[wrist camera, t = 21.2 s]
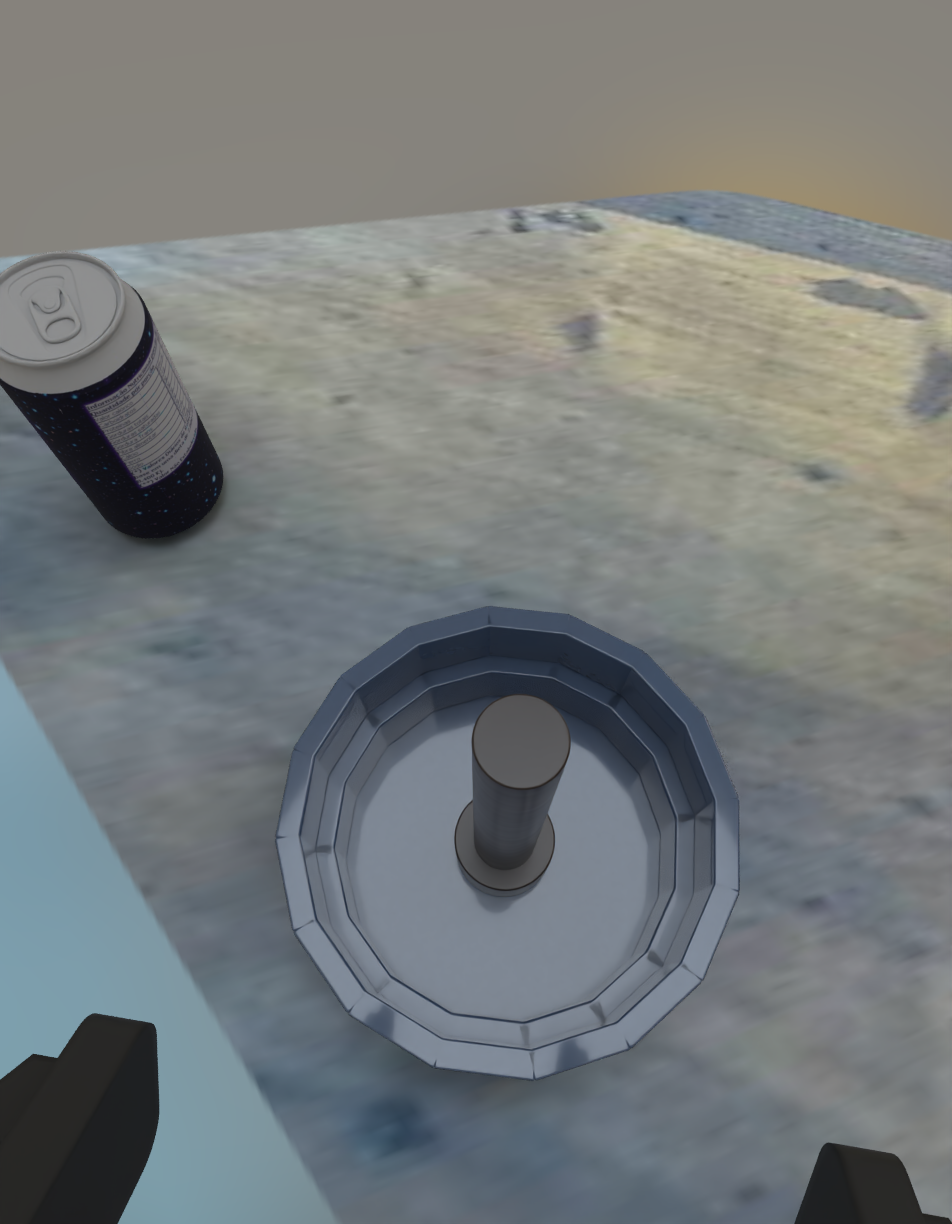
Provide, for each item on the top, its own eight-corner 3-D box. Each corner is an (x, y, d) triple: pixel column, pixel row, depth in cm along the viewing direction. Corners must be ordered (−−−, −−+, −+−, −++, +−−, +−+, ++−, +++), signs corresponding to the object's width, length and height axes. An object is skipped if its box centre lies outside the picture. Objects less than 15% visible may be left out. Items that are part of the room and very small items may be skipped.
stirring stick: (555, 806, 34) (609, 675, 20) (545, 903, 32) (594, 834, 19) (463, 792, 34) (453, 654, 20) (448, 888, 33) (427, 809, 19)
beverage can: (201, 424, 42) (103, 220, 31) (247, 515, 40) (159, 332, 29) (87, 472, 41) (-58, 279, 30) (128, 568, 39) (-10, 399, 28)
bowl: (773, 880, 33) (837, 855, 28) (473, 1159, 30) (471, 1199, 24) (527, 606, 38) (536, 534, 32) (240, 819, 34) (191, 782, 28)
